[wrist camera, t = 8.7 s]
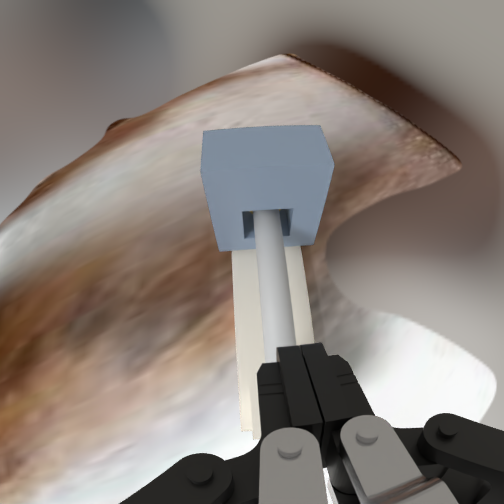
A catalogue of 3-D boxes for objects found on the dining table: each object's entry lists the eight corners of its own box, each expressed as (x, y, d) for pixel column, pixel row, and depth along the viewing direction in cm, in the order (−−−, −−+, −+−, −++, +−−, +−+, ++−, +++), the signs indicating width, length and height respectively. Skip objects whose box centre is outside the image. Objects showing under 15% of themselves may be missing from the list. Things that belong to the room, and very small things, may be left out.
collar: (313, 244, 25) (334, 164, 17) (219, 251, 25) (200, 171, 17) (305, 207, 27) (320, 125, 19) (218, 213, 27) (203, 131, 19)
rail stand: (321, 422, 19) (344, 428, 14) (241, 430, 19) (233, 440, 14) (286, 177, 31) (290, 129, 26) (229, 180, 31) (223, 133, 25)
